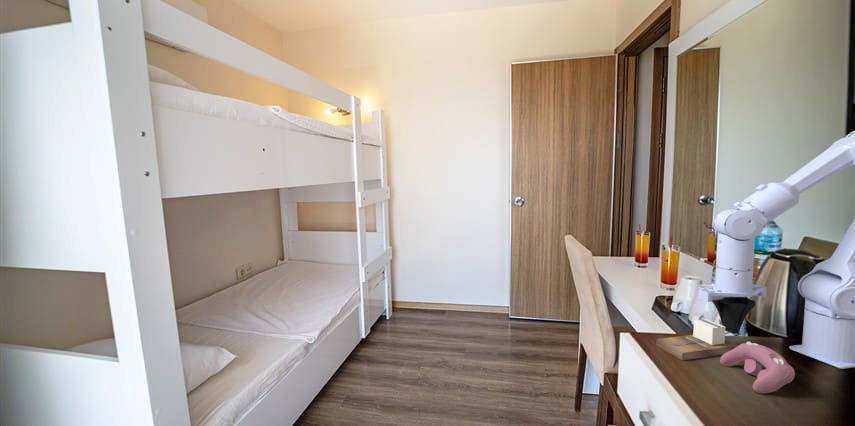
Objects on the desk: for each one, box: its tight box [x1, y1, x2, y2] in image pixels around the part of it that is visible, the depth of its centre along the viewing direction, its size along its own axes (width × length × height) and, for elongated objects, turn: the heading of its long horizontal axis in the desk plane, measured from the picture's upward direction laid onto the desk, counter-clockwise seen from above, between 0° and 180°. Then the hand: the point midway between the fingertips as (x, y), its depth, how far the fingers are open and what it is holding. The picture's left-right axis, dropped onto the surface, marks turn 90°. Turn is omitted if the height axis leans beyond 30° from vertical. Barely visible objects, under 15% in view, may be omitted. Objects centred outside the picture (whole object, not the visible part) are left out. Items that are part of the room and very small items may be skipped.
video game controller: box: [719, 341, 796, 394], centre depth 59 cm, size 10×5×7 cm, turn 169°
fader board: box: [655, 334, 739, 361], centre depth 70 cm, size 13×6×2 cm, turn 100°
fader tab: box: [692, 318, 726, 345], centre depth 70 cm, size 3×4×4 cm
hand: (730, 331), depth 71 cm, fingers closed
